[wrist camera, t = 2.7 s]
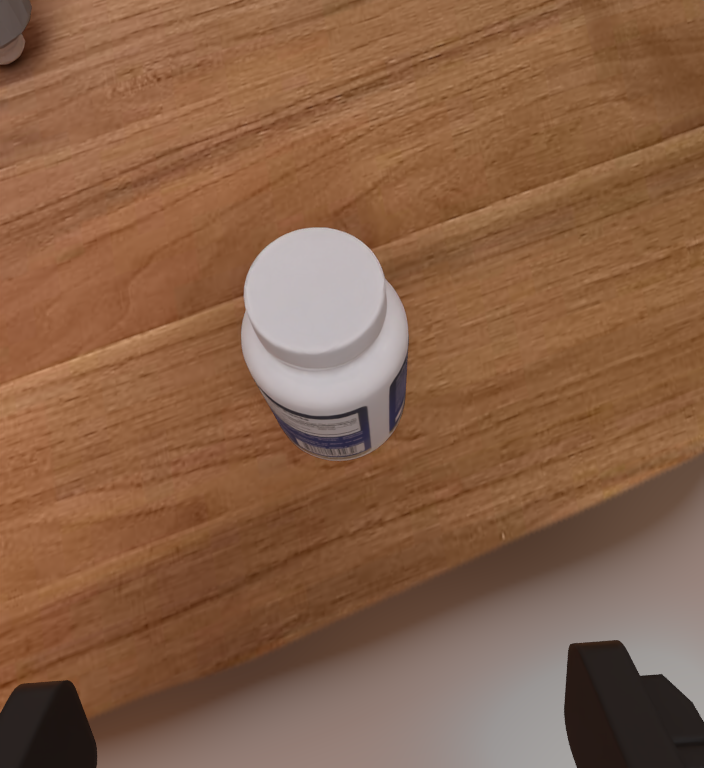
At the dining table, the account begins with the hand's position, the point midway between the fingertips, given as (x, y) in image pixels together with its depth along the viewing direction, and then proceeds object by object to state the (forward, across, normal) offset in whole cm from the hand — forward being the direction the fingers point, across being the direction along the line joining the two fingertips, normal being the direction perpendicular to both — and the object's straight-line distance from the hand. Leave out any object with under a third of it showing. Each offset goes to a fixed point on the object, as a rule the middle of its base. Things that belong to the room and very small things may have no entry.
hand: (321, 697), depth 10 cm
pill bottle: (+17, 0, +3) cm, 17 cm away
